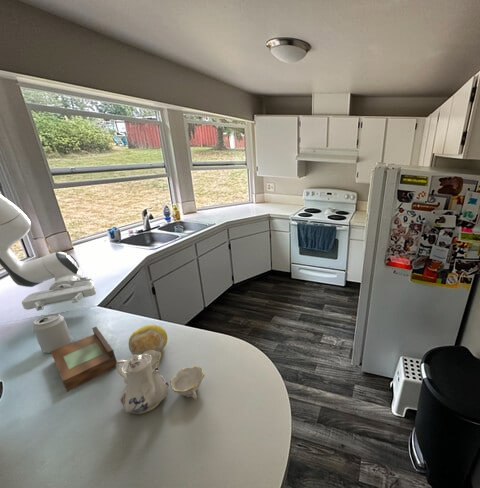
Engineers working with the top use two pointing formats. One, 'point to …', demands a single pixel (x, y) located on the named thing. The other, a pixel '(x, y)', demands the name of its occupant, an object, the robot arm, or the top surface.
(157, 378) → the chinaware
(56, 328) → the can
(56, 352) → the wooden box
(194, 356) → the top surface
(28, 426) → the top surface
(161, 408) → the top surface
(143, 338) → the fruit
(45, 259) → the robot arm
